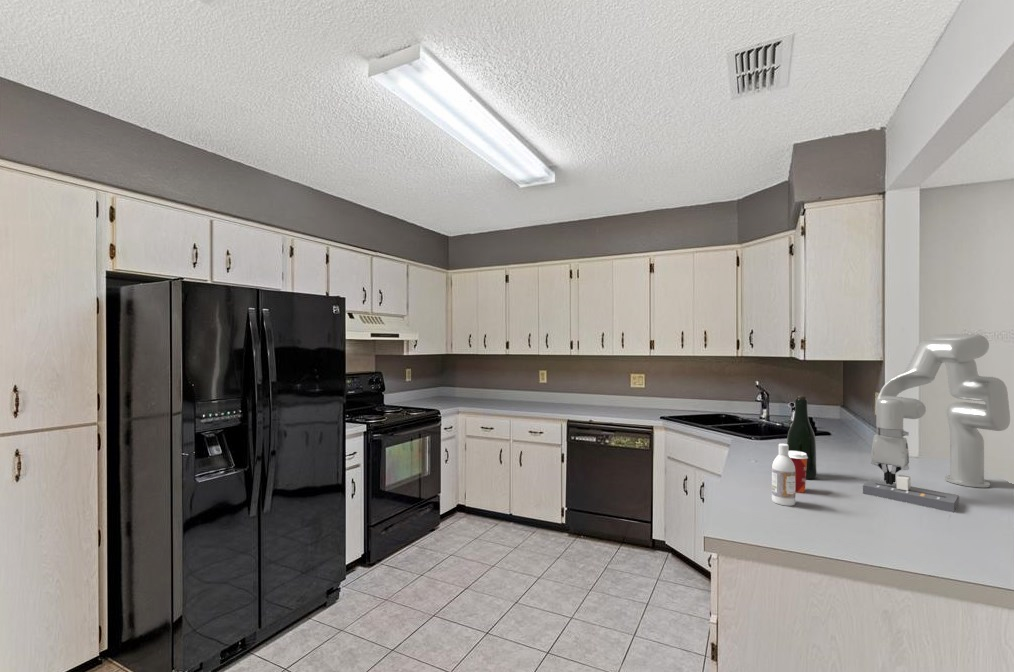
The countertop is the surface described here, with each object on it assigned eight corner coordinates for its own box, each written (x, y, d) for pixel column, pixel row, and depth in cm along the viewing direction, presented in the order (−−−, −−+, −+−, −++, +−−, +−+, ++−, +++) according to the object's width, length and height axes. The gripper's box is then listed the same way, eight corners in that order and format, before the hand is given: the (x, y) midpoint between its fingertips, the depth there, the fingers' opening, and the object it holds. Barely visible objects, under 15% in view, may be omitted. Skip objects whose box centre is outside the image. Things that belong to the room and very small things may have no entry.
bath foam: (783, 507, 154) (783, 447, 155) (767, 500, 161) (767, 442, 161) (800, 505, 156) (800, 446, 156) (783, 498, 163) (783, 441, 163)
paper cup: (811, 494, 167) (811, 455, 167) (788, 493, 169) (788, 454, 169) (802, 487, 175) (802, 450, 175) (780, 486, 176) (780, 449, 176)
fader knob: (899, 485, 167) (899, 474, 167) (910, 487, 165) (910, 476, 165) (896, 488, 164) (896, 477, 164) (907, 490, 162) (907, 479, 162)
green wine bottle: (799, 471, 196) (799, 393, 197) (822, 478, 186) (822, 396, 187) (780, 473, 193) (780, 394, 193) (803, 481, 183) (803, 397, 183)
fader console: (871, 486, 176) (871, 478, 176) (958, 504, 158) (958, 494, 158) (862, 493, 168) (862, 484, 168) (953, 512, 150) (953, 502, 150)
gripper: (919, 434, 164) (919, 486, 164) (866, 428, 176) (867, 476, 175) (914, 437, 159) (914, 490, 159) (861, 431, 171) (861, 480, 171)
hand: (889, 483), depth 167 cm, fingers closed
